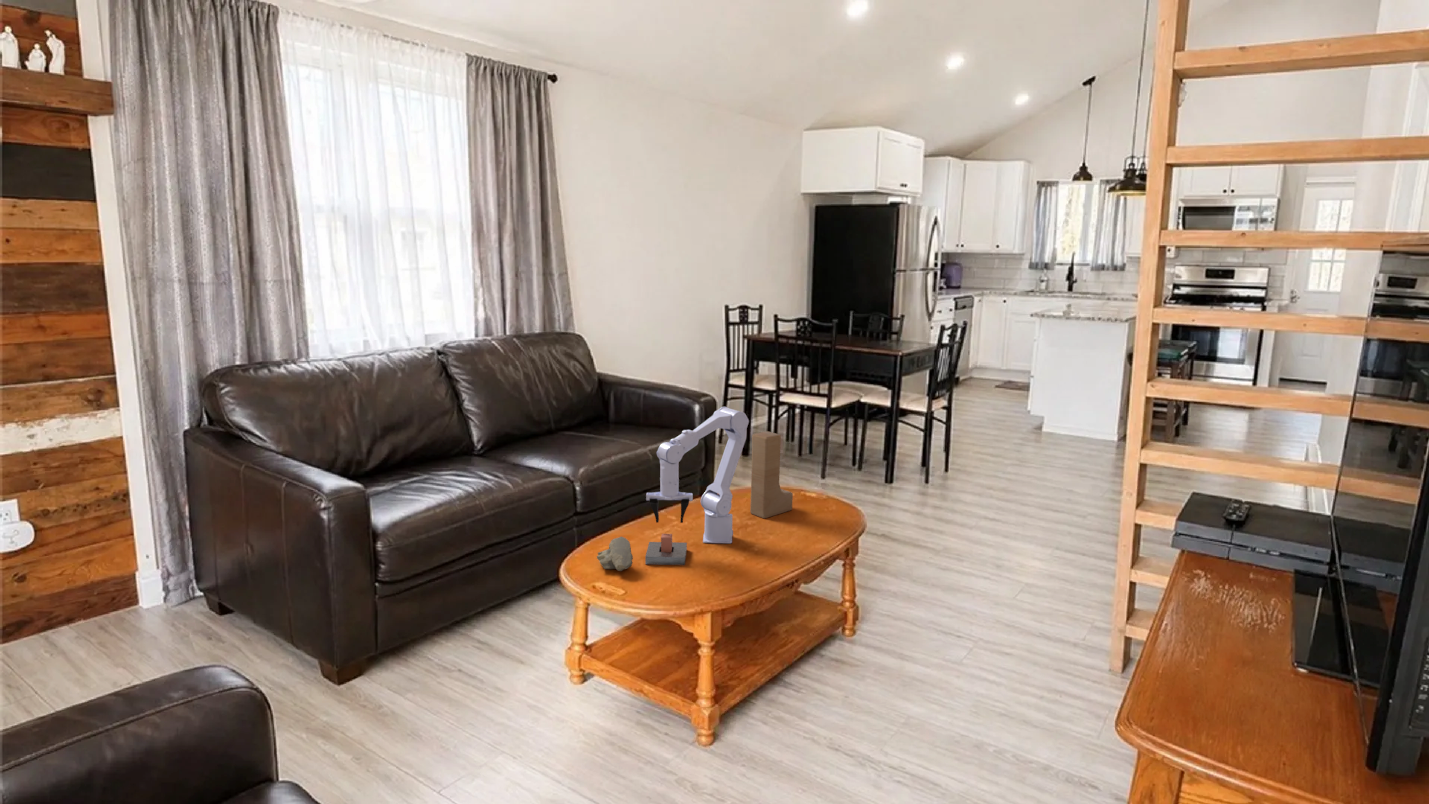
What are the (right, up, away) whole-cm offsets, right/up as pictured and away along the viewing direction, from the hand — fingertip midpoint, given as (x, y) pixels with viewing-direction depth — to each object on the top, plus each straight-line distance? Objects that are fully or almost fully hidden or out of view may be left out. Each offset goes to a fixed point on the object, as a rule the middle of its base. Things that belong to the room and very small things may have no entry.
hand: (669, 521), depth 258 cm
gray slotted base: (-1, -11, -3) cm, 11 cm away
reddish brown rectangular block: (-1, -11, -3) cm, 11 cm away
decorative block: (+35, -3, +40) cm, 53 cm away
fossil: (-16, -13, -12) cm, 23 cm away
